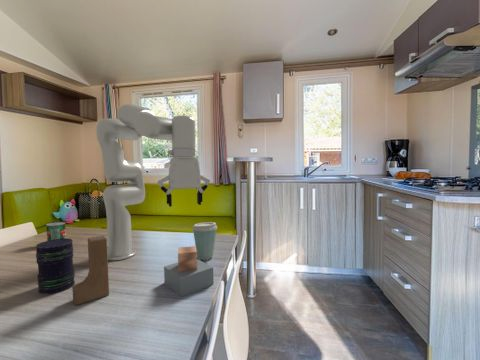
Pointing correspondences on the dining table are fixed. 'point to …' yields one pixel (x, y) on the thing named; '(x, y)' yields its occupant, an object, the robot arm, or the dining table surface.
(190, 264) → the terracotta cube
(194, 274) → the slate box
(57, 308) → the dining table surface
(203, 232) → the disposable coffee cup
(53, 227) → the canned tomato
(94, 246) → the wooden block
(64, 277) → the storage jar
